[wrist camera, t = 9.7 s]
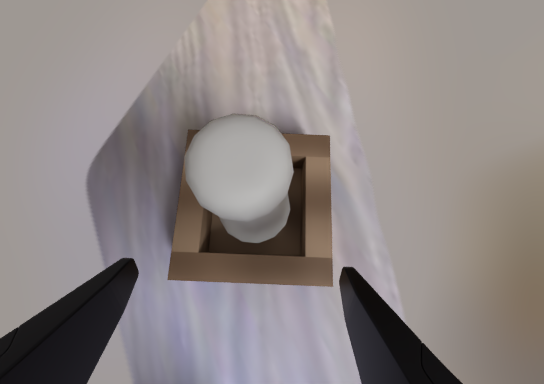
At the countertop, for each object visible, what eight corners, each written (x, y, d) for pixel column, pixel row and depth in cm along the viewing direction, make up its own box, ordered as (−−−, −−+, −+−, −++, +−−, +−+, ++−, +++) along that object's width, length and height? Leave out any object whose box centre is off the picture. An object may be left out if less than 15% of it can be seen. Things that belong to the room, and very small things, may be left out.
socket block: (320, 278, 20) (332, 286, 16) (186, 273, 20) (167, 279, 16) (319, 154, 23) (329, 135, 19) (201, 149, 23) (188, 129, 19)
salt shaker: (211, 221, 20) (118, 181, 8) (245, 169, 22) (212, 61, 9) (267, 255, 20) (264, 273, 7) (299, 200, 21) (345, 131, 8)
